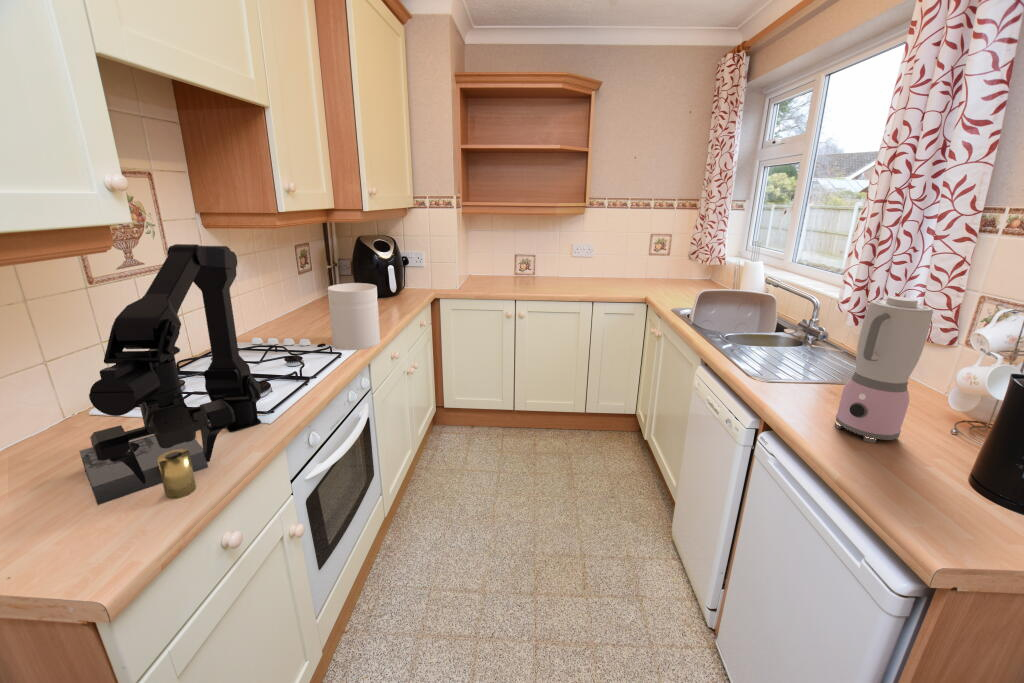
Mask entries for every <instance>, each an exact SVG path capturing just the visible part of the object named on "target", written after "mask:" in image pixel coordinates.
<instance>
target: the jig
mask: <svg viewBox="0 0 1024 683" xmlns="http://www.w3.org/2000/svg"><path fill="white" fill-rule="evenodd" d="M130 446H131V448H132V450H133V452H134V454H135V456H136V459H137V461H138V463H139V465H140V467H141V469H142V472H143V474H144V476H145V480H146V483H145V484H143V483H142V482H141V481H140V480H139V478H138V477H137V476H136V475H135V474H134V472H133V471H132V470H131V469H130V468H129V467H128V466H127V465H126V464H125V463H123V462H121V461H115V462H111V461H110V460H109V459H108V460H104V461H98V459H97V457H96V454H95V452H94V449H93V446H91V447H89V448H84V449H81V450H79V453H80V458H81V461H82V464H83V468H84V470H85V475H86V476H87V480H88V482H89V486H90V487H91V491H92V494H93V496H94V498H95V502H96V505H97V506H100V505H103V504H106V503H108V502H111V501H114V500H117V499H120V498H122V497H126V496H128V495H131V494H135V493H137V492H140V491H143V490H146V489H149V488H152V487H155V486H158V485H160V484H163V482H162V478H161V473H160V469H159V465H158V460H157V459H158V457H159V456H161V455H162V454H164V453H166V452H169V451H172V450H177V449H186V450H188V451H189V454H190V459H191V464H192V468H193V473H195V472H198V471H201V470H204V469H208V468H209V462H207V461H206V460H205V456H204V452H203V446H202V445H201V444H200V442H198V440H196V438H195V439H194V440H193V441H190V442H184V443H180V444H177V445H174V446H173V447H170V448H161V447H160V446H159V444H158V441H157V439H156V437H155V436H153V437H149V438H146V439H142V440H139V441H135V442H132V443H130Z"/></svg>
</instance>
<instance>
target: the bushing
mask: <svg viewBox="0 0 1024 683" xmlns="http://www.w3.org/2000/svg"><path fill="white" fill-rule="evenodd" d="M157 460H158V465H159V469H160V473H161V478H162V482H163V483H162V485H163V490H164V494H165V497H166V498H167V499H170V500H177V499H181V498H185V497H187V496H189V495H191V494H192V493H193V492H195V491H196V490H197V485H196V478H195V474H194V473H195V472H193V468H192V464H191V459H190V454H189V451H188V450H186V449H177V450H172V451H169V452H166V453H164V454H162V455H161V456H159V457H158V459H157Z"/></svg>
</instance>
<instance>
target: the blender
mask: <svg viewBox="0 0 1024 683" xmlns="http://www.w3.org/2000/svg"><path fill="white" fill-rule="evenodd" d="M933 314H934V310H933V308H932V307H930V306H927V305H924V304H919V302H918V299H915V298H911V297H904V296H890V295H889V296H887V298H886V299H874V300H871V301H870V302H869V303H868V305H867V308H866V313H865V315H864V316H863V317H864V318H863V321H862V324H861V328H860V331H859V332H860V333H859V335H858V336H859V337H858V340H857V346H856V357H855V370H854V372H853V375H851V377H850V378H849V379H848V380H847V381H846V383H845V385H844V386H843V388H842V392H841V395H840V400H839V404H838V408H837V413H836V414H835V415H836V416H835V418H836V421H837V422H838V423H839V424H840V425H841V426H843V427H844V428H846V429H847V430H846V429H845V430H846V431H848V430H850V431H849V432H851V431H852V432H851V433H853V432H854V433H853V434H856V433H857V434H856V435H859V436H862V435H863V436H862V437H863V442H866V443H872V444H876V442H877V440H883V441H886V440H890V441H891V440H896V439H898V438H899V437H900V435H901V431H902V430H901V429H902V426H903V424H904V420H905V418H906V414H907V411H908V407H909V404H910V393H909V390H908V381H909V378H910V377H911V375H912V373H913V372H914V370H915V369H916V366H917V364H918V362H919V360H920V357H921V356H922V354H923V350H924V348H925V344H926V341H927V338H928V335H929V330H930V328H931V322H932V318H933ZM834 426H835V428H836V429H837V430H841V429H842V428H843V427H841V426H839V425H837V424H836V422H835V421H834ZM844 428H843V429H844ZM864 436H866V437H869V438H866V437H864ZM870 438H874V439H870ZM875 439H877V440H875Z"/></svg>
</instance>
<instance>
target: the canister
mask: <svg viewBox="0 0 1024 683" xmlns="http://www.w3.org/2000/svg"><path fill="white" fill-rule="evenodd" d="M327 296H328V302H329V303H328V309H329V317H330V330H331V337H332V338H331V339H332V346H333V347H334V348H335V349H340V350H347V351H357V350H365V349H369V348H374V347H376V346H378V345H380V343H381V336H380V335H381V332H380V315H379V303H378V286H377V285H376V284H372V283H368V282H367V283H363V282H350V283H347V282H346V283H345V282H344V283H338V284H332V285H329V286H328V287H327Z"/></svg>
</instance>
